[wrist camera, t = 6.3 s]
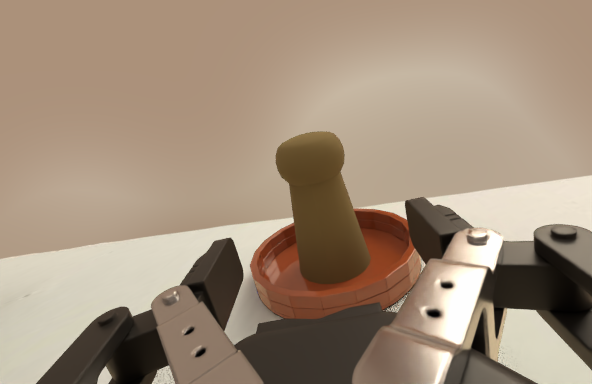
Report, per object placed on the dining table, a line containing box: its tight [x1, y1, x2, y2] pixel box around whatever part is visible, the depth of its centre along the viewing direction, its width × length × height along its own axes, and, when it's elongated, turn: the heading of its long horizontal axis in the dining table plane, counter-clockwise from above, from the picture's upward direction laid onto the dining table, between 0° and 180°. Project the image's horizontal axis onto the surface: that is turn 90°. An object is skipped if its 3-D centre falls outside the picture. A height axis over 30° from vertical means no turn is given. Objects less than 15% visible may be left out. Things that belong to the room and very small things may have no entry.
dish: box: [250, 209, 421, 319], centre depth 25 cm, size 14×14×2 cm
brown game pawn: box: [276, 132, 371, 284], centre depth 24 cm, size 6×6×11 cm
